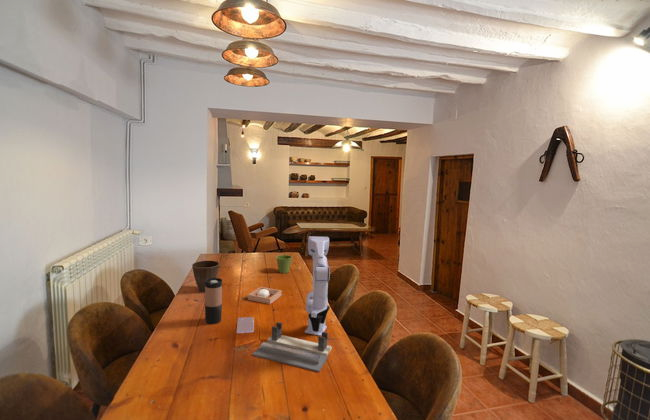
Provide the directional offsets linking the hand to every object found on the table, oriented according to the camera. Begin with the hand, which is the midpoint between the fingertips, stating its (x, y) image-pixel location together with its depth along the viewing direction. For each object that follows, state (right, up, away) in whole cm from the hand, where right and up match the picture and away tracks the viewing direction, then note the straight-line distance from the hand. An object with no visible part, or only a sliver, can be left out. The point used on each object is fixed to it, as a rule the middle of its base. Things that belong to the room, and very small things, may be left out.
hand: (318, 327), depth 134 cm
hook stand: (-8, -9, +3) cm, 12 cm away
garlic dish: (-32, -2, +52) cm, 61 cm away
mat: (-11, -10, -6) cm, 16 cm away
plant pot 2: (-28, +3, +101) cm, 105 cm away
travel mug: (-51, -5, +20) cm, 55 cm away
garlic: (-33, -2, +55) cm, 64 cm away
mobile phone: (-35, -6, +18) cm, 40 cm away
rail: (-11, -9, -6) cm, 16 cm away
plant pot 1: (-69, +1, +59) cm, 90 cm away
